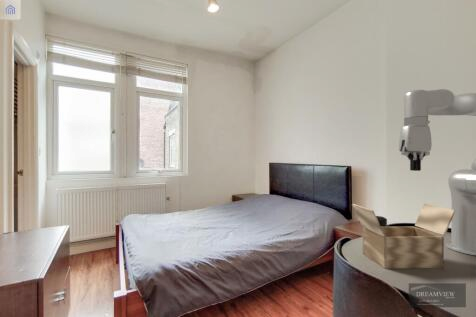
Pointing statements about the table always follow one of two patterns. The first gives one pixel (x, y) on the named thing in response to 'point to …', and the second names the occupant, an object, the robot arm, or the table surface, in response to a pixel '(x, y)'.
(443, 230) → the flap
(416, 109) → the robot arm
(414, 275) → the table surface
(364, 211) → the flap
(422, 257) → the carton
